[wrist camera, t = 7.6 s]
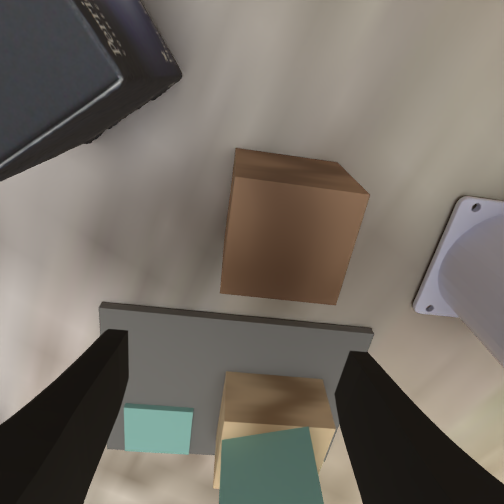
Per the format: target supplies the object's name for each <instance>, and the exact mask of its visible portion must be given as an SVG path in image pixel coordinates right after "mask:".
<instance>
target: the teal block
mask: <svg viewBox="0 0 504 504" xmlns="http://www.w3.org/2000/svg"><path fill="white" fill-rule="evenodd" d="M219 504H324V502H323V497H322V492H321V487H320V482H319V477H318V472H317V466H316V461H315V456H314V451H313V446H312V441H311V436H310V431H309V426H307V427H301V428H294V429H288V430H282V431H275V432H269V433H262V434H256V435H250V436H243V437H237V438H230V439H224V440H222V447H221V470H220V492H219Z"/></svg>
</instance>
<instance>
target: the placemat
mask: <svg viewBox="0 0 504 504" xmlns="http://www.w3.org/2000/svg"><path fill="white" fill-rule="evenodd" d="M99 320H100V336H101V335H102V334H103V333H104V331H106V330H107V329H117V330H128V349H129V379H128V383H127V387H126V391H125V394H124V398H123V401H122V405H121V408H120V411H119V414H118V416H117V419H116V421H115V424H114V426H113V429H112V431H111V434H110V436H109V439H108V441H107V449H117V450H125V434H124V406H125V403H131V404H145V405H159V406H173V407H187V408H194V409H193V419H192V428H191V438H190V447H189V454H203V455H215V448H216V434H217V427H218V421H219V414H220V408H221V402H222V395H223V389H224V382H225V376H226V371H228V372H241V373H253V374H265V375H277V376H290V377H302V378H314V379H323V383H324V387H325V390H326V394H327V398H328V401H329V405H330V409H331V413H332V416H333V420H334V424H335V427H336V430H335V433H334V435H333V438H332V440H331V443H330V446H329V448H328V451H327V453H326V456H325V459H324V461H323V462H325V460H326V457H327V454H328V452H329V449H330V447H331V444H332V442H333V439H334V436H335V434H336V431H337V429H338V426H339V419H338V413H337V407H336V401H335V395H334V393H335V391H336V388H337V385H338V382H339V380H340V377H341V374H342V371H343V368H344V366H345V363H346V360H347V357H348V354H349V352H350V351H361V352H368V349H369V346H370V344H371V341H372V339H373V336H374V333H373V331H372V329H371V328H363V327H352V326H342V325H332V324H322V323H311V322H301V321H291V320H280V319H270V318H260V317H250V316H239V315H229V314H219V313H208V312H198V311H188V310H178V309H167V308H157V307H147V306H136V305H126V304H116V303H106V302H102V303H101V305H100V307H99Z"/></svg>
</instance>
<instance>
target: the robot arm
mask: <svg viewBox="0 0 504 504" xmlns="http://www.w3.org/2000/svg"><path fill="white" fill-rule="evenodd" d="M476 203H477V206H476V207H475V208H474V209H472V206H473V205H474V204H476ZM471 209H472V210H471ZM429 305H431V306H430V307H429V308H427V306H429ZM413 309H414V310H415V311H416V312H417V313H420V314H429V315H439V316H449V317H459V318H460V319H461V320H462V321H463V322H464V323H465V324H466V326H467V327H468V328H469V329H470V330H471V331H472V332H473V333H474V335H475V336H476V337H477V338H478V339H479V340H480V341H481V343H482V344H483V345H484V346H485V347H486V348H487V349H488V351H489V352H490V353H491V354H492V355H493V356H494V357H495V359H496V360H497V361H498V362H499V363H500V364H501V365H502V366H503V368H504V201H500V200H493V199H485V198H478V197H471V196H464V197H462V198H460V199H459V200H458V202H457V203H456V205H455V208H454V210H453V212H452V215H451V217H450V219H449V222H448V224H447V226H446V229H445V231H444V233H443V236H442V238H441V240H440V242H439V245H438V247H437V249H436V252H435V254H434V256H433V259H432V261H431V263H430V266H429V268H428V270H427V273H426V275H425V277H424V280H423V282H422V284H421V287H420V289H419V291H418V294H417V296H416V298H415V301H414V303H413ZM128 379H129V349H128V330H117V329H107V330H106V331H104V333H103V334H102V335H101V336H100V337H99V338H98V339H97V340H96V341H95V342H94V343H93V344H92V345H91V346H90V347H89V348H88V349H87V350H86V351H85V352H84V353H83V354H82V355H81V356H80V357H79V358H78V359H77V360H76V361H75V362H74V363H73V364H72V365H71V366H70V367H69V368H67V369H66V370H65V371H64V372H63V373H62V374H61V375H60V376H59V377H58V378H57V379H56V380H55V381H53V382H52V383H51V384H50V385H49V386H48V387H47V388H45V389H44V390H43V391H42V392H41V393H40V394H38V395H37V396H36V397H35V398H34V399H33V400H31V401H30V402H29V403H28V404H27V405H25V406H24V407H23V408H22V409H20V410H19V411H18V412H17V413H15V414H14V415H13V416H11V417H10V418H9V419H8V420H6V421H5V422H4V423H2V424H1V425H0V504H83V503H84V500H85V497H86V495H87V492H88V489H89V486H90V484H91V481H92V479H93V476H94V474H95V471H96V469H97V466H98V464H99V461H100V459H101V456H102V454H103V451H104V449H105V446H106V444H107V441H108V439H109V436H110V434H111V431H112V429H113V426H114V424H115V421H116V419H117V416H118V414H119V411H120V408H121V405H122V401H123V398H124V394H125V391H126V387H127V383H128ZM334 395H335V401H336V407H337V413H338V419H339V424H340V428H341V431H342V435H343V438H344V442H345V445H346V448H347V452H348V455H349V458H350V462H351V465H352V468H353V472H354V475H355V478H356V481H357V485H358V488H359V491H360V495H361V498H362V502H363V504H504V484H503V483H502V482H500V481H499V480H498V479H496V478H495V477H494V476H493V475H491V474H490V473H489V472H488V471H486V470H485V469H484V468H483V467H482V466H480V465H479V464H478V463H477V462H476V461H475V460H473V459H472V458H471V457H470V456H469V455H468V454H467V453H465V452H464V451H463V450H462V449H461V448H460V447H458V446H457V445H456V444H455V443H454V442H453V441H452V440H451V439H450V438H449V437H448V436H447V435H445V434H444V433H443V432H442V431H441V430H440V429H439V428H438V427H437V426H436V425H435V424H434V423H433V422H432V421H431V420H430V419H429V418H428V417H427V416H426V415H425V414H424V413H423V412H422V411H421V410H420V409H419V408H418V407H417V406H416V405H415V404H414V402H413V401H412V400H411V399H410V398H409V397H408V396H407V395H406V394H405V393H404V392H403V391H402V390H401V388H400V387H399V386H398V385H397V384H396V383H395V382H394V381H393V380H392V378H391V377H390V376H389V375H388V374H387V373H386V372H385V371H384V370H383V368H382V367H381V366H380V365H379V364H378V363H377V362H376V361H375V360H374V358H373V357H372V356H371V355H370V354H369V353H368V352H361V351H350V352H349V354H348V357H347V360H346V363H345V366H344V368H343V371H342V374H341V377H340V380H339V382H338V385H337V388H336V391H335V393H334Z"/></svg>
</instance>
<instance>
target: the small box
mask: <svg viewBox="0 0 504 504" xmlns="http://www.w3.org/2000/svg"><path fill="white" fill-rule="evenodd" d="M181 78H182V73H181V71H180V69H179V67H178V65H177V63H176V61H175V60H174V58H173V56H172V54H171V53H170V51H169V49H168V48H167V46H166V44H165V42H164V41H163V39H162V37H161V35H160V34H159V32H158V30H157V29H156V27H155V25H154V24H153V22H152V20H151V18H150V17H149V15H148V13H147V12H146V10H145V8H144V6H143V5H142V3H141V1H140V0H0V181H3V180H5V179H7V178H9V177H11V176H14V175H16V174H18V173H21V172H23V171H25V170H27V169H29V168H31V167H33V166H36V165H38V164H41V163H42V162H45V161H47V160H49V159H52V158H54V157H56V156H58V155H60V154H62V153H64V152H66V151H68V150H70V149H72V148H75V147H77V146H79V145H81V144H88V143H92V141H93V140H94V139H97V138H98V137H99V136H100V135H101V134H102V133H103V132H104V131H105V130H106V129H110V128H112V126H115V125H116V124H117V123H118V122H119V121H120V120H121V119H123V118H126V117H127V115H129V114H131V113H132V112H134V111H135V110H137V109H140V107H141V106H143V105H144V104H146V103H148V102H149V101H150V100H155V99H156V98H157V97H159V96H161V94H162V93H164V92H166V90H167V89H169V88H170V87H171V86H172V85H173V84H175V83H176V82H178V81H179V80H180V79H181Z"/></svg>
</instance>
